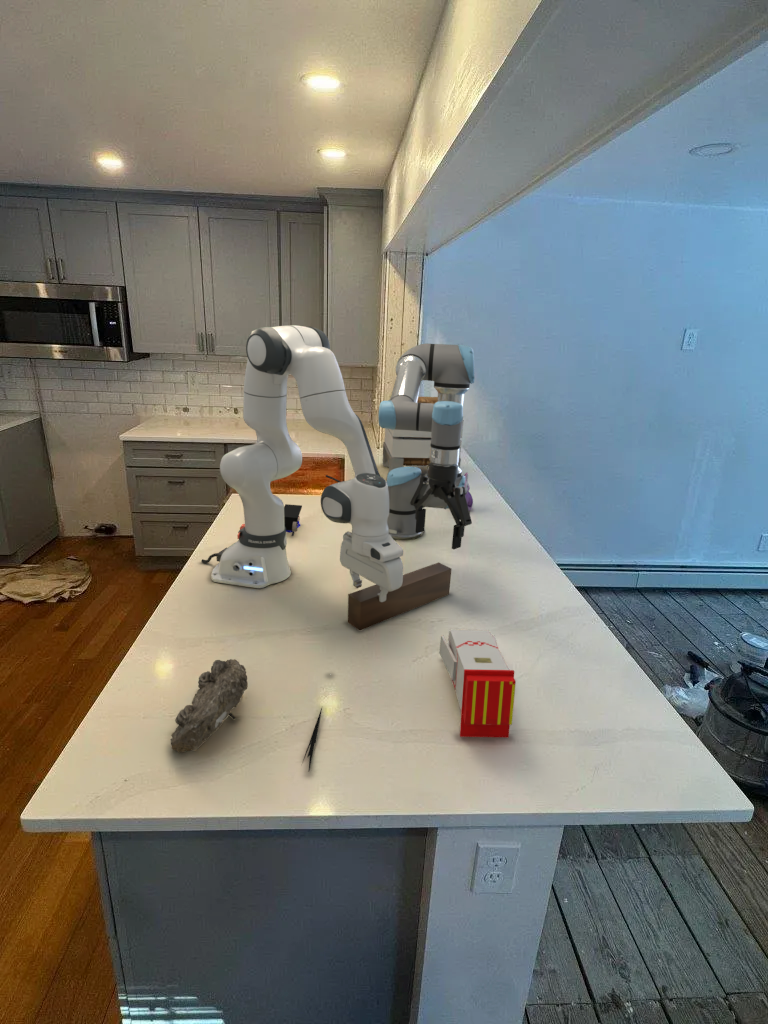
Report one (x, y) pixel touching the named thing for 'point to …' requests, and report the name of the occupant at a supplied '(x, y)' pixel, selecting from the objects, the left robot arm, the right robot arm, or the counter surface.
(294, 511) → the figurine character
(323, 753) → the counter surface
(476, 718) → the toy
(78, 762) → the counter surface
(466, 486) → the figurine
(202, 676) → the fossil
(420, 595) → the walnut beam
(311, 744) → the feather
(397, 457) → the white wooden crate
